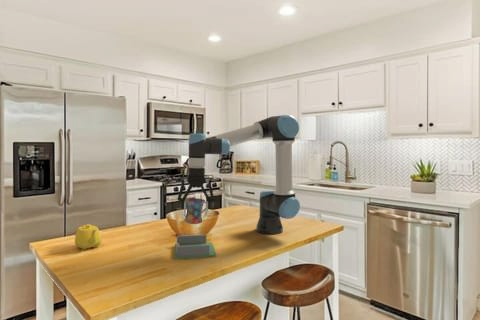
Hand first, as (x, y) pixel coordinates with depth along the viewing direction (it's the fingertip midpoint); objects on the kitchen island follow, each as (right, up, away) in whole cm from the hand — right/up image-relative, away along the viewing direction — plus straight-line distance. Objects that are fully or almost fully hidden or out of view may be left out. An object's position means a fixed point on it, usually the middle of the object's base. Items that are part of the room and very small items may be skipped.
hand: (195, 215), depth 149 cm
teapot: (-51, -16, +4) cm, 54 cm away
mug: (0, -3, +1) cm, 3 cm away
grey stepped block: (-1, -16, +1) cm, 16 cm away
